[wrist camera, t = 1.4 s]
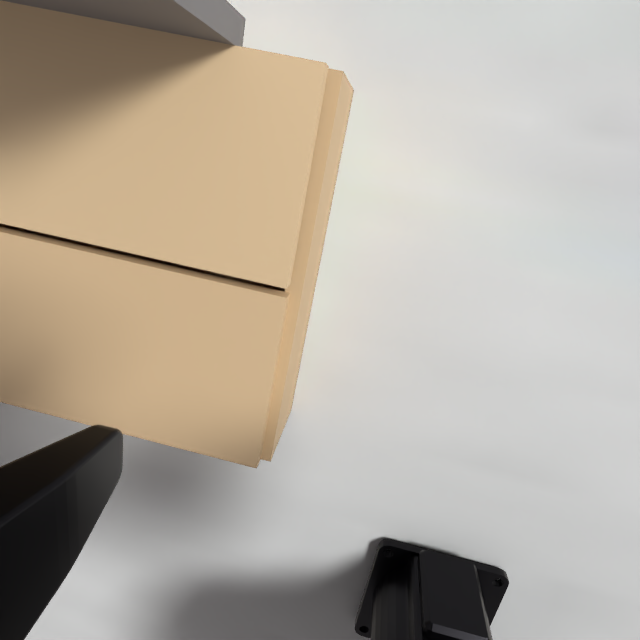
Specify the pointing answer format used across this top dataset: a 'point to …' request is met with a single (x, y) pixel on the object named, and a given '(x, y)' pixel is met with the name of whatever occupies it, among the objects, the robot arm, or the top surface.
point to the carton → (165, 329)
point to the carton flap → (156, 132)
